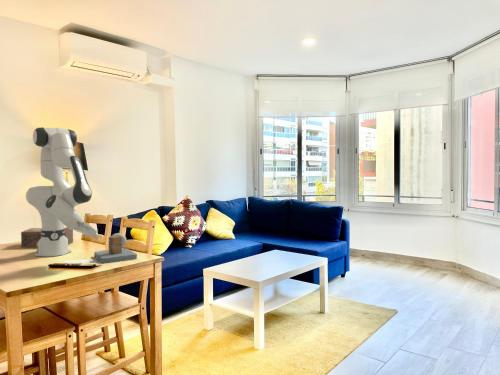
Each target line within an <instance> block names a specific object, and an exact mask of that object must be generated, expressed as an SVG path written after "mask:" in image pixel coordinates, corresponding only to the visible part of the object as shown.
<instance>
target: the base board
mask: <svg viewBox="0 0 500 375" xmlns="http://www.w3.org/2000/svg"><path fill="white" fill-rule="evenodd" d="M93 255H94V256H93V257H95V258H96V259H97V260H98V261H99V262H100V261H101V262H100V263H101V264H108V263H115V262H122V261H124V262H125V261H131V260H137V259H138V254H137V253H135V252H134V251H132V250H131V249H128V248H127V247H126V248H122V253H120V254H114V255H113V254H110V253H109V249H108V250H101V251H94V254H93Z"/></svg>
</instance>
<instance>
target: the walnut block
mask: <svg viewBox="0 0 500 375" xmlns="http://www.w3.org/2000/svg"><path fill="white" fill-rule="evenodd" d="M111 236H112V235H111ZM111 236H108V250H109V253H110V254H113V255H114V254H120V253H122V249H123V248H122V237H120V236H112V237H111Z"/></svg>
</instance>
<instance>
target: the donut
mask: <svg viewBox="0 0 500 375" xmlns="http://www.w3.org/2000/svg"><path fill="white" fill-rule="evenodd" d="M112 236H120V237H122V249H124V247H125V246H126V245H127V237H126V236H125V235H124V234H122V233H119V232H117V233H114V234H112V235H111V236H110V237H112Z"/></svg>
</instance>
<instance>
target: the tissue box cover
mask: <svg viewBox="0 0 500 375" xmlns="http://www.w3.org/2000/svg"><path fill="white" fill-rule="evenodd" d="M41 230H42V227H30V228H28V229H25V230H23V231H21V232H20V236H21V237H20V241H21V242H20V243H21V244H20V245H21V246H20V247H21V248H22V249H23V248H26V249H27V248H29V249H31V248H38V247H37V243H38V242H39V240H40V239H41V237H42V236H41ZM64 230H65V235H64V236H65V237H66V238H67V239H68V246H70V245H71V244H73V243H74V230H73V229H72V230H70V229H69V228H68V227H64Z"/></svg>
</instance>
